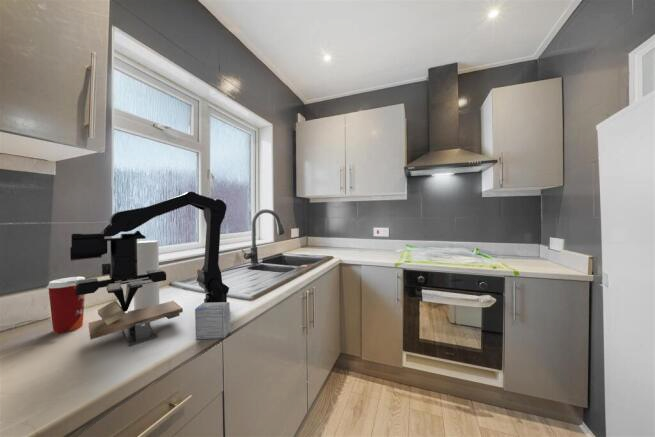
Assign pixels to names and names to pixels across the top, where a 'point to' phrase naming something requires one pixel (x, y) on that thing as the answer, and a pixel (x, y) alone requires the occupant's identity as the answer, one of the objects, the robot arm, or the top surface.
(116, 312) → the maple block
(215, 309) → the medicine box
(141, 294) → the cylindrical container
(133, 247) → the robot arm
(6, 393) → the top surface
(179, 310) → the beam
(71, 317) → the coffee cup
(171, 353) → the top surface
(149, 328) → the beam stand
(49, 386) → the top surface
